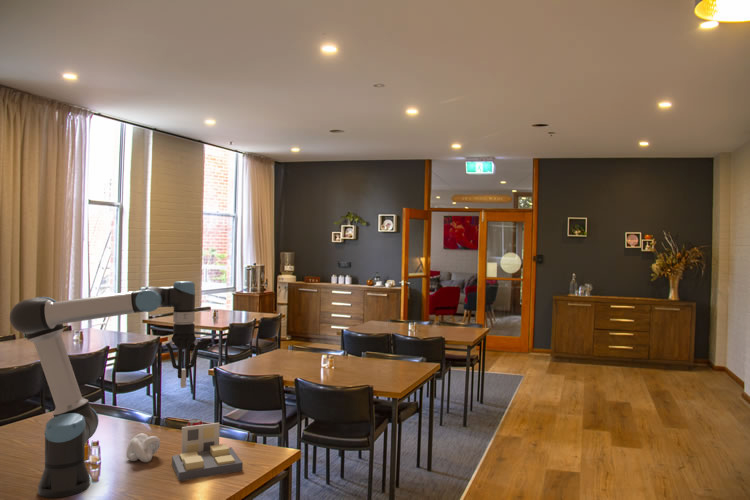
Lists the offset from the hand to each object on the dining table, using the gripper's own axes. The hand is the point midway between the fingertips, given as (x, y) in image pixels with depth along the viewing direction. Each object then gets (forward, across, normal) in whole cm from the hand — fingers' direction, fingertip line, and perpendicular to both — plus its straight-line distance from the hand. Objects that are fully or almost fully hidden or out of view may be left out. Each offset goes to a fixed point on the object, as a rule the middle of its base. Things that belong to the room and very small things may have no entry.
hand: (183, 386), depth 209 cm
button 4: (+29, +13, -9) cm, 33 cm away
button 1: (+29, +2, 0) cm, 29 cm away
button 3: (+27, +13, 0) cm, 30 cm away
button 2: (+27, +3, -9) cm, 29 cm away
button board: (+29, +8, -3) cm, 31 cm away
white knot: (+30, -13, +14) cm, 35 cm away
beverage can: (+30, +7, +15) cm, 34 cm away
